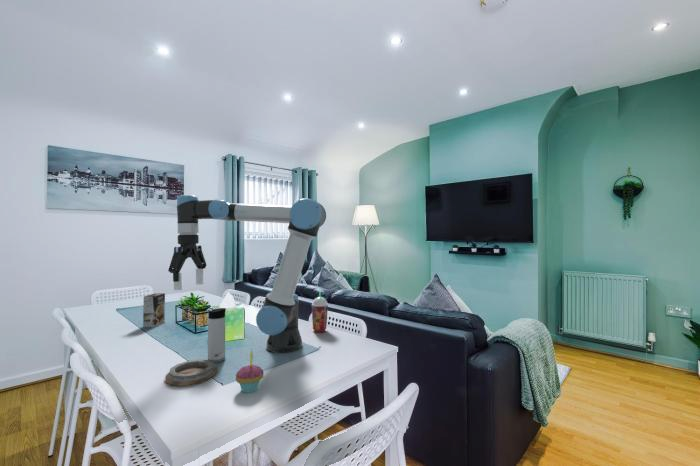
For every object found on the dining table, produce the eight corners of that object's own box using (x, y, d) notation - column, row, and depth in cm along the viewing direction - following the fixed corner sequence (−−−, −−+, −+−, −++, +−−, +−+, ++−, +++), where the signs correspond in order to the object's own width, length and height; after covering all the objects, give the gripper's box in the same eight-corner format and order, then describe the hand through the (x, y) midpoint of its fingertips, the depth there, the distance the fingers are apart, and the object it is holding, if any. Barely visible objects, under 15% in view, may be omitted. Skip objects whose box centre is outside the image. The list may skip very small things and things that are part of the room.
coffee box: (154, 327, 165) (155, 296, 165) (142, 327, 165) (142, 296, 165) (165, 322, 174) (165, 293, 174) (153, 322, 175) (153, 292, 174)
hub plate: (225, 367, 117) (225, 359, 117) (199, 388, 102) (199, 379, 102) (185, 364, 120) (185, 357, 120) (153, 384, 104) (153, 376, 104)
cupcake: (239, 383, 105) (240, 346, 105) (265, 382, 106) (266, 346, 106) (232, 396, 97) (232, 356, 97) (260, 395, 97) (261, 356, 97)
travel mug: (219, 363, 121) (220, 310, 121) (204, 362, 122) (204, 309, 122) (229, 357, 127) (229, 307, 127) (214, 356, 128) (214, 306, 128)
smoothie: (331, 330, 163) (331, 291, 163) (321, 334, 156) (321, 293, 156) (318, 327, 168) (318, 289, 168) (307, 331, 160) (308, 291, 160)
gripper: (198, 234, 142) (199, 282, 141) (156, 234, 117) (157, 292, 117) (214, 233, 140) (215, 282, 140) (175, 234, 116) (176, 292, 116)
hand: (189, 287), depth 129 cm, fingers open, 13 cm apart
